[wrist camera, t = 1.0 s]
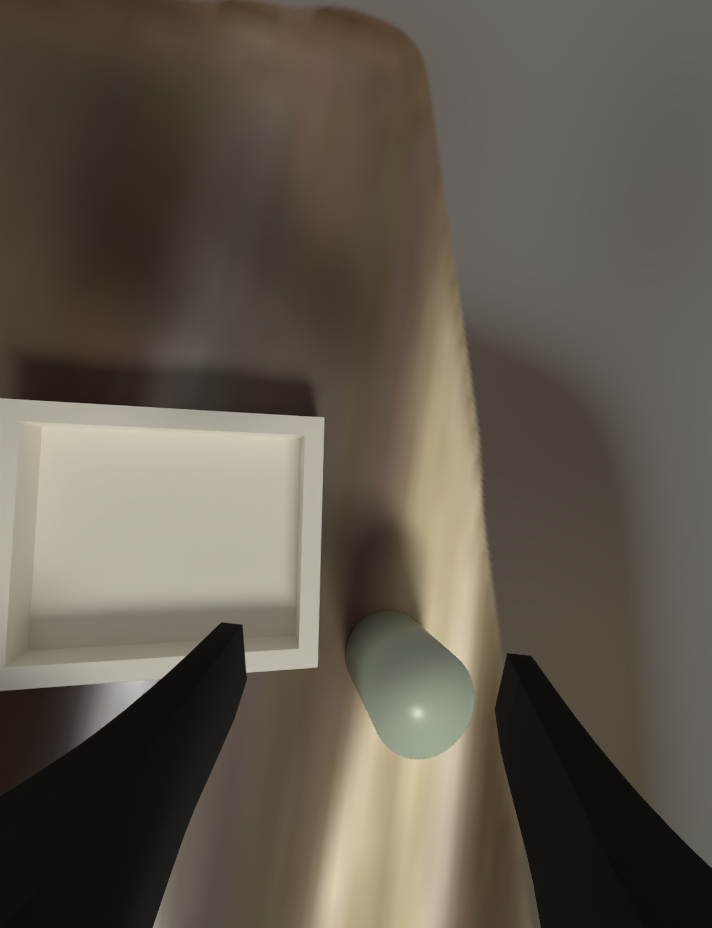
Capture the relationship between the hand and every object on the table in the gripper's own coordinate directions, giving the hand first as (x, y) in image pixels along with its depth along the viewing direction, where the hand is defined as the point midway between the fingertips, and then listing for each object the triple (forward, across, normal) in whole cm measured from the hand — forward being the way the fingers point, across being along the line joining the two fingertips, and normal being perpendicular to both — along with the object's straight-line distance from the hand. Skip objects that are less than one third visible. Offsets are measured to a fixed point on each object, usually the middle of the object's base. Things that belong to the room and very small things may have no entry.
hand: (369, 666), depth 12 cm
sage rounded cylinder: (+11, -1, +10) cm, 15 cm away
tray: (+10, +11, +3) cm, 15 cm away
